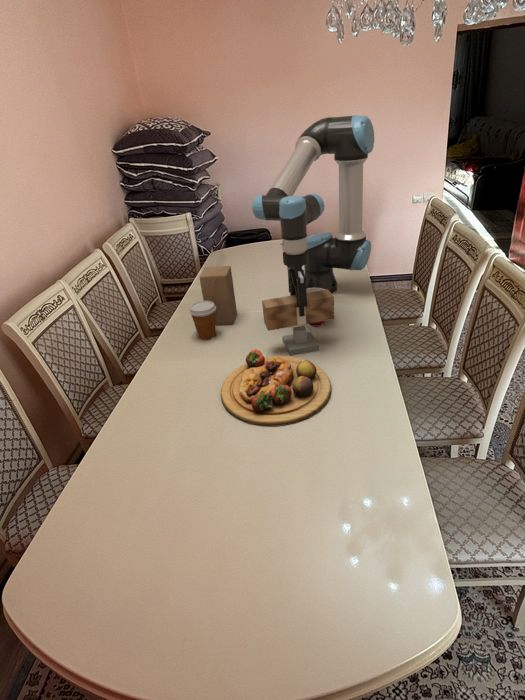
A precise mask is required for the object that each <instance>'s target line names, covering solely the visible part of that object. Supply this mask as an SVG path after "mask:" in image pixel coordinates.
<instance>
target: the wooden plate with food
mask: <svg viewBox="0 0 525 700" xmlns="http://www.w3.org/2000/svg"><path fill="white" fill-rule="evenodd" d="M331 392H332V383H331V381H330V378H329V376H328V375H327V373H326V372H325V370H324V369H322V368H321V367H320V366H318V365H317V364H315V363H314V362H312V361H311V360H308V359H304V358H301V357H297V356H296V357H295V356H292V355H291V356H290V355H289V356H288V355H272V356H264V355H263V353H262V352H261V351H260V350H259V349H256V348H255V349H251V351H249V353H248V354H247V355H246V357H245V363H244V364H242V365H240V366H239V367H237V368H236V369H234V370H233V371H232V372H231V373H230V374H229V375H228V376H226V378H225V380H224V382H223V383H222V386H221V389H220V399H221V402H222V405H223V407H224V408H225V410H226V411H227V412H228V413H229V415H231V416H233V417H235V418H236V419H238V420H240V421H242V422H244V423H247V424H251V425H256V426H262V427H277V426H279V427H280V426H285V425H292V424H296V423H300V422H301V421H304V420H306V419H309V418H310V417H311V418H312V416H314V415H315V414H317V413H318V412H320V410H322V409H323V408H324V406H326V404H327V403H328V401H329V399H330V397H331Z"/></svg>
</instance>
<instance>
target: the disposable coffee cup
mask: <svg viewBox="0 0 525 700" xmlns="http://www.w3.org/2000/svg"><path fill="white" fill-rule="evenodd" d="M215 310H216V306H215V305H214V303H213V302H211V301H203V300H199V301H196V302H194V303H192V304H190V306H189V314H190V315H191V318H192V320H193V323H194V326H195V330H196V333H197V335H198V338H199V339H200V340H210V339H213V338H215V337H216V335H217V332H216V331H217V329H216V327H217V325H216V323H215Z"/></svg>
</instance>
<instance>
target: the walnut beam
mask: <svg viewBox="0 0 525 700" xmlns="http://www.w3.org/2000/svg"><path fill="white" fill-rule="evenodd" d="M261 303H262V304H261V306H262V313H263V322H264V325H265V327H266V330H267V331H275V330H281V329H285V328H291V327H292V328H293V327H299V325H298V324H297V310H296V308H295V306H296V305H297V300H296V295H292V296H290V295H287V296H281V297H276V298H275V297H274V298H269V299H263V300H261ZM305 310H306V324H302V325H301V326H305V325H309V323H315V322H320V321H324V322H325V321H326V322H327V321H330V320H331V321H332V320H335V295H334V294H333V293H331V292H330V291H329V290H328V289H327V290H321V291H315V292H309V293H307V307H305Z"/></svg>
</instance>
